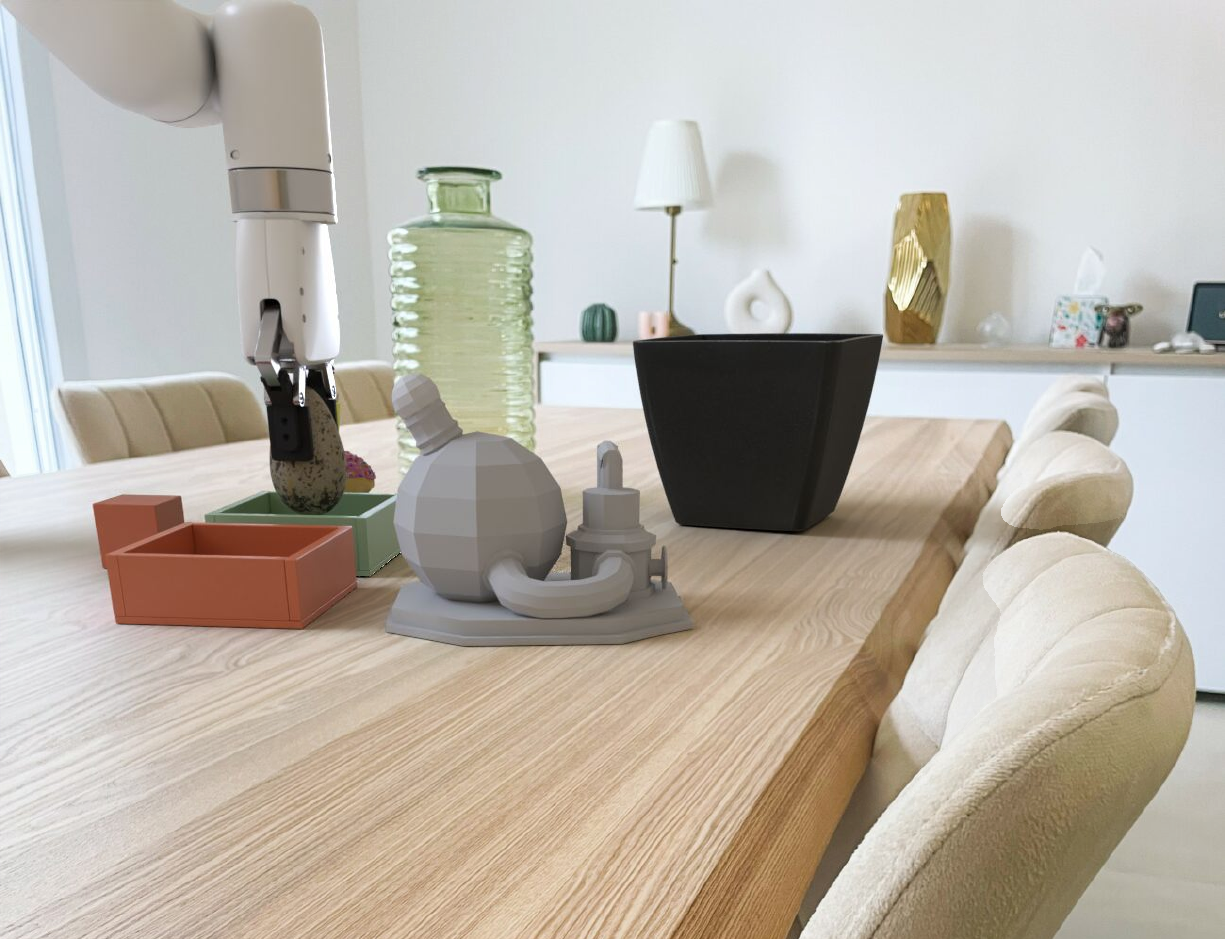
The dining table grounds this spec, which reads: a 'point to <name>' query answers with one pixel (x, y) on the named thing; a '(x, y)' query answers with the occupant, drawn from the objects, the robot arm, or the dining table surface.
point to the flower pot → (755, 423)
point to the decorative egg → (314, 466)
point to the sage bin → (328, 522)
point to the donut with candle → (356, 469)
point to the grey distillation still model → (518, 543)
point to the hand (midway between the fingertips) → (306, 453)
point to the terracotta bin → (232, 575)
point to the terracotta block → (134, 519)
